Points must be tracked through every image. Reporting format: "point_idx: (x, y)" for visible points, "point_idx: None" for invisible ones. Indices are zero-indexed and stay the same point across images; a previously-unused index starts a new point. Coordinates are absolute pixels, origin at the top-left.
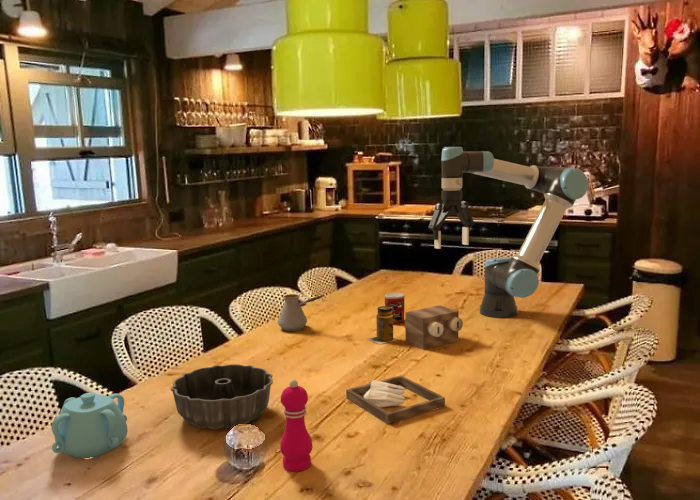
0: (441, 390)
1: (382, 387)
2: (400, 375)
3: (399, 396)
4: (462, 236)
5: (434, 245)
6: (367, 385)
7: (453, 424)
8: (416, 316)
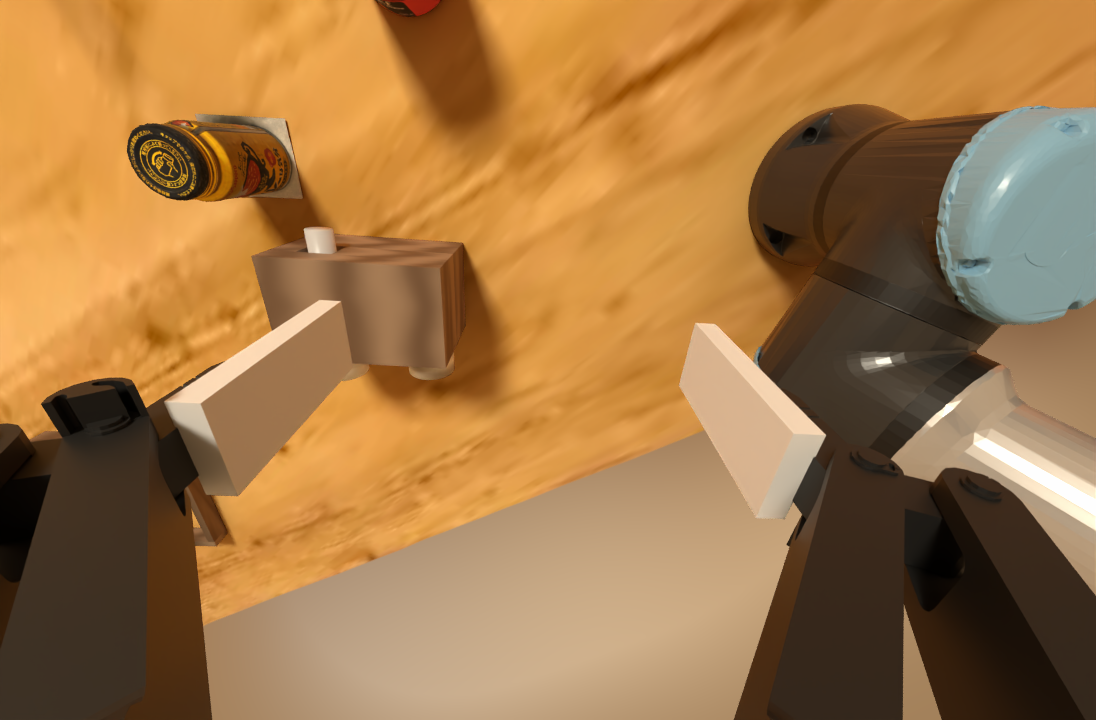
0: (252, 495)
1: None
2: None
3: None
4: (727, 363)
5: (305, 311)
6: None
7: (213, 568)
8: (270, 324)
